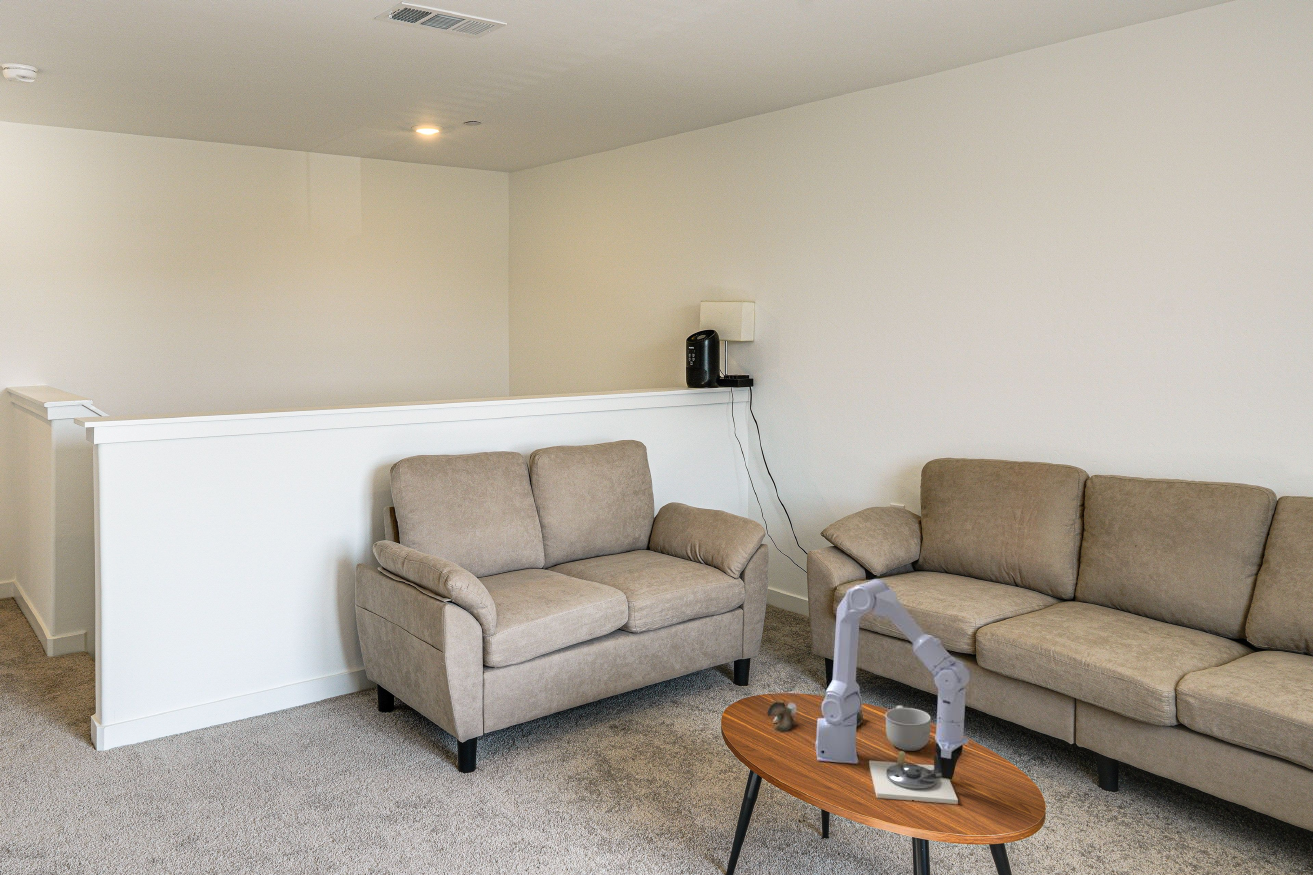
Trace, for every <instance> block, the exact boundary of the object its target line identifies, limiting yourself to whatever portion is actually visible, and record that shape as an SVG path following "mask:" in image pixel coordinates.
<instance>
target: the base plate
mask: <svg viewBox="0 0 1313 875" xmlns="http://www.w3.org/2000/svg"><path fill="white" fill-rule="evenodd" d="M897 764H907V763H906V752H905V751H904V750H899V751H897V762H895V761H894V762H893V761H883V760H881V761H878V760H868V766H869V772H870V775H871V779H872V782H873V783H872V784H873V788H874V793H875V796H876V798H877V799H887V800H898V801H899V800H900V801H912V800H914V802H924V803H925V802H926V803H938V804H949V805H958V804H959V802H958V801H959V799H958V796H957V795H956V792H955V789H954V787H953V785H952V783H951V779H946V778H942V776H940V777H937V784H936V785H935V786H933V787H931V788H927V789H911V788H906V787H902V786H899V785H897V784H895V783H893V782H891V781H890V780H889V779H888V778H887V776H886V772H887V769H888V768H889V767H890V766H893V765H897ZM915 764H916V765H918V766H921V767H924V768H927V769H929V770H934V764H933V765H932V764H931V765H930V764H918V763H915ZM912 802H913V801H912Z"/></svg>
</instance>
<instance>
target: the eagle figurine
mask: <svg viewBox="0 0 1313 875" xmlns="http://www.w3.org/2000/svg"><path fill="white" fill-rule="evenodd" d="M772 702H773V703H772V704H770V706H769V707H768V709H767V712H766V715H767V717H774V719H773V722H772V724H775V723H777V722H778V723H777V724H776V725H775V726H774V727H773V729H774V730H775V731H776V732H779V731H781V732H782V731H784V732H787V731H790V729H792V726H793V723H794V722H795V721H794V717H793V716H792V715H795V714H797V711H798V710H797V705H796V704H795V703H794V702H788V704H787V705H786V704H785V702H784V701H783V702H779V701H775V700H772Z"/></svg>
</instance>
